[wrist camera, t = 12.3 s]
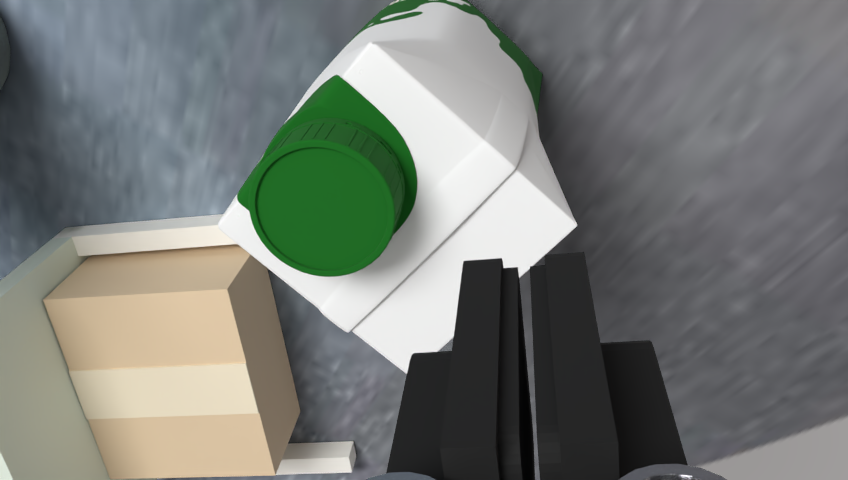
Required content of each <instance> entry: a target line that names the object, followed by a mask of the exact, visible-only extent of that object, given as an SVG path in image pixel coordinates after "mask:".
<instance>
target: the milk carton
mask: <svg viewBox="0 0 848 480" xmlns="http://www.w3.org/2000/svg"><path fill="white" fill-rule="evenodd" d="M541 81H542V73H541V72H540V71H539V70H538V69H537V68H536V67H535V66H534V64H533V63H532V62H531V61H530V60H529V58H528V57H527V56H526V55H525V54H524V53H523V52H522V51H521V50H520V49H519V48H518V47H517V46H516V45H515V44H514V43H513V42H512V41H511V40H510V39H509V38H508V37H507V36H506V35H505V34H504V33H503V32H502V31H500V30H499V29H498V28H497V27H496V26H495V25H494V24H493V23H492V22H491V21H490V20H489V19H488V18H487V17H485V16H484V15H483V14H482V13H481V12H480V11H479V10H477V9H476V8H475V7H474V6H473V5H472V4H471V3H470V2H468V1H467V0H395V1H394V2H392V3H391V4H390V5H388V6H387V7H385V8H384V9H383V10H381V11H380V12H379V13H378V14H377V15H376V16H375V17H374V18H373V19H372V20H371V21H369V22H368V23H367V24H366V25H365V26H364V27H363V28H362V29H361V30H360V31H359V32H358V33H357V34H356V36H355V37H354V38H353V39H352V40H351V41H350V42H349V43H348V44H347V45H346V47H345V48H344V49H343V50H342V51H341V52H340V53H339V54H338V55H337V56H336V58H335V59H334V60H333V61H332V62H331V63H330V64H329V65H328V66H327V68H326V69H325V70H324V71H323V72H322V73H321V74H320V76H319V77H318V78H317V79H316V80H315V82H314V83H313V84H312V85H311V87H310V88H309V89H308V91H307V92H306V93H305V95H304V96H303V98H302V99H301V101H300V102H299V104H298V105H297V106H296V108H295V109H294V111H293V112H292V113H291V115H290V116H289V118H288V119H287V121H286V122H285V123H284V125H283V126H282V127H281V128H280V130H279V131H278V132H277V134H276V135H275V136H274V138H273V139H272V141H271V143H270V144H269V146H268V148H267V149H266V151H265V153H264V155H263V156H262V158H261V159H260V161H259V162H258V164H257V165H256V167H255V168H254V170H253V171H252V173H251V174H250V176H249V177H248V178H247V180H246V181H245V183H244V184H243V186H242V187H241V189H240V191H239V192H238V194H237V195H236V197H235V198H234V200H233V201H232V203H231V204H230V206H229V207H228V209H227V210H226V212H225V213H224V215H223V216H222V218H221V219H220V221H219V222H218V226H219V229H220V230H221V231H222V232H223V233H224V234H226V235H227V236H228V237H229V238H231V239H232V240H233V241H234V242H236V243H237V244H238V245H239V246H241V247H242V248H243V249H244V250H246V251H247V252H248V253H249V254H251V255H252V256H253V257H254V258H256V259H257V260H258V261H259V262H261V263H262V264H263V265H264V266H266V267H267V268H268V269H269V270H271V271H272V272H273V273H274V274H276V275H277V276H278V277H279V278H281V279H282V280H283V281H284V282H286V283H287V284H288V285H289V286H291V287H292V288H293V289H294V290H296V291H297V292H298V293H299V294H301V295H302V296H303V297H304V298H306V299H307V300H308V301H309V302H311V303H312V304H313V305H314V306H316V307H317V308H318V309H319V310H320V312H321V313H322V314H323V315H324V316H326V317H327V318H328V319H329V320H331V321H332V322H333V323H334V324H336V325H337V326H338V327H340V328H341V329H342V330H344V331H346V332H350V331H352V332H354V333H355V334H356V335H357V336H359V337H360V338H361V339H363V340H364V341H365V342H366V343H368V344H369V345H370V346H371V347H373V348H374V349H375V350H377V351H378V352H379V353H380V354H382V355H383V356H384V357H386V358H387V359H388V360H389V361H391V362H392V363H393V364H395V365H396V366H397V367H398V368H400V369H401V370H402V371H404V372H405V373H406V374H407V372H408V367H409V362H410V359H411V356H412V354H414V353H425V352H438V351H439V350H440V349H441V348H442V347H443V346H444V345H445V344H447V343H448V342H449V341H450V340H451V339H452V338H453V337H454V331H455V323H456V315H457V307H458V299H459V291H460V283H461V275H462V267H463V261H468V260H483V259H497V258H502V261H503V267H504V268H512V267H518V273H519V278H520V277H521V276H522V275H523V274H525V273H526V272H527V271H528V270H529V269H530V266H533V265H535V264H536V263H537V262H538V261H539V260H540V259H541V258H542V257H543V256H545V255H546V254H547V253H548V252H549V251H550V250H551V249H552V248H553V247H555V246H556V245H557V244H558V243H559V242H560V241H561V240H562V239H563V238H565V237H566V236H567V235H568V234H569V233H570V232H571V231H572V230H573V229H575V228H576V227H577V223H576V221H575V219H574V217H573V215H572V212H571V210H570V208H569V206H568V203H567V201H566V199H565V196H564V194H563V192H562V189H561V187H560V185H559V183H558V180H557V178H556V176H555V173H554V171H553V169H552V166H551V164H550V162H549V159H548V157H547V154H546V152H545V150H544V147H543V145H542V143H541V140H540V138H539V129H538V118H537V113H538V105H539V97H540V89H541Z"/></svg>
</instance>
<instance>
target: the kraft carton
mask: <svg viewBox="0 0 848 480" xmlns="http://www.w3.org/2000/svg"><path fill="white" fill-rule="evenodd" d="M43 301H44V304H45V307H46V309H47V312H48V315H49V317H50V320H51V323H52V325H53V328H54V331H55V333H56V336H57V339H58V341H59V344H60V347H61V349H62V352H63V355H64V357H65V360H66V363H67V365H68V368H69V374H70V377H71V379H72V382H73V385H74V387H75V390H76V393H77V395H78V398H79V401H80V403H81V406H82V409H83V411H84V414H85V417H86V419H88V421H89V424H90V427H91V429H92V432H93V435H94V437H95V440H96V443H97V445H98V448H99V451H100V453H101V456H102V459H103V461H104V464H105V467H106V469H107V472H108V475H109V477H110V479H139V478H184V477H229V476H273V475H276V473H277V470H278V468H279V465H280V463H281V460H282V457H283V455H284V452H285V450H286V447H287V445H288V442H289V439H290V437H291V434H292V432H293V429H294V427H295V424H296V422H297V419H298V416H299V414H300V407H299V403H298V398H297V394H296V390H295V385H294V381H293V377H292V372H291V368H290V364H289V360H288V355H287V351H286V347H285V342H284V338H283V334H282V329H281V325H280V321H279V317H278V312H277V308H276V304H275V299H274V295H273V291H272V286H271V282H270V278H269V273H268V269H267V267H266V266H264V265H263V264H262V263H261V262H259V261H258V260H257V259H256V258H254V257H253V256H252V255H251V254H249V253H248V252H247V251H246V250H244V249H243V248H242V247H241V246H239V245H238V244H231V245H218V246H205V247H192V248H179V249H166V250H153V251H140V252H127V253H114V254H101V255H91V256H90V257H89V258H88V259H87V260H85V261H84V262H83V263H82V264H81V265H80V266H79V267H78V268H77V269H76V270H75V271H74V272H73V273H71V274H70V275H69V276H68V277H67V278H66V279H65V280H64V281H63V282H62V283H61V284H60V285H59V286H57V287H56V288H55V289H54V290H53V291H52V292H51V293H50V294H49V295H48V296H47V297H46V298H45V299H43Z"/></svg>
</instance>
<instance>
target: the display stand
mask: <svg viewBox="0 0 848 480" xmlns="http://www.w3.org/2000/svg"><path fill="white" fill-rule="evenodd" d="M223 215H224V214H220V215H208V216H196V217H184V218H172V219H160V220H148V221H136V222H124V223H112V224H100V225H88V226H76V227H65V228H64V229H63V230H62V231H61V232H59V233H58V234H57V235H56V236H54V237H53V238H52V239H51V240H50V241H48V242H47V243H46V244H45V245H43V246H42V247H41V248H40V249H39V250H37V251H36V252H35V253H34V254H32V255H31V256H30V257H29V258H28V259H26V260H25V261H24V262H23V263H21V264H20V265H19V266H18V267H16V268H15V269H14V270H13V271H12V272H10V273H9V274H8V275H7V276H5V277H4V278H3V279H2V280H1V281H0V480H157V478H139V479H110V477H109V475H108V472H107V469H106V467H105V464H104V461H103V459H102V456H101V453H100V451H99V448H98V445H97V443H96V440H95V437H94V435H93V432H92V429H91V427H90V424H89V421H88V419H86V417H85V414H84V411H83V409H82V406H81V403H80V401H79V398H78V395H77V393H76V390H75V387H74V385H73V382H72V379H71V377H70V374H69V368H68V365H67V363H66V360H65V357H64V355H63V352H62V349H61V347H60V344H59V341H58V339H57V336H56V333H55V331H54V328H53V325H52V323H51V320H50V317H49V315H48V312H47V309H46V307H45V304H44V301H43V299H45V298H46V297H47V296H48V295H49V294H50V293H51V292H52V291H53V290H54V289H55V288H56V287H57V286H59V285H60V284H61V283H62V282H63V281H64V280H65V279H66V278H67V277H68V276H69V275H70V274H71V273H73V272H74V271H75V270H76V269H77V268H78V267H79V266H80V265H81V264H82V263H83V262H84V261H85V260H87V259H88V258H89V257H90V256H91V255H101V254H114V253H127V252H140V251H153V250H166V249H179V248H192V247H205V246H218V245H231V244H237V243H236V242H234V241H233V240H232V239H231V238H229V237H228V236H227V235H226V234H224V233H223V232H222V231H221V230H220V229H219V226H218V222H219V221H220V219H221V218H222V216H223ZM355 459H356V452H355V447H354V442H353V441H346V442H319V443H292V444H288V445H287V447H286V450H285V452H284V455H283V457H282V460H281V463H280V465H279V468H278V470H277V473H276V475H283V474H315V473H347V472H352V471H353V467H354V463H355ZM184 478H186V477H184Z"/></svg>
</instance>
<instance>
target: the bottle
mask: <svg viewBox="0 0 848 480" xmlns="http://www.w3.org/2000/svg"><path fill="white" fill-rule="evenodd" d="M10 54H11V50H10V45H9V41H8V36H7V31H6V27H5V25H4V23H3V21H2V19H1V17H0V91H1V89H2V87H3V84H4V82H5V80H6V78H7V76H8V74H9V65H10Z"/></svg>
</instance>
